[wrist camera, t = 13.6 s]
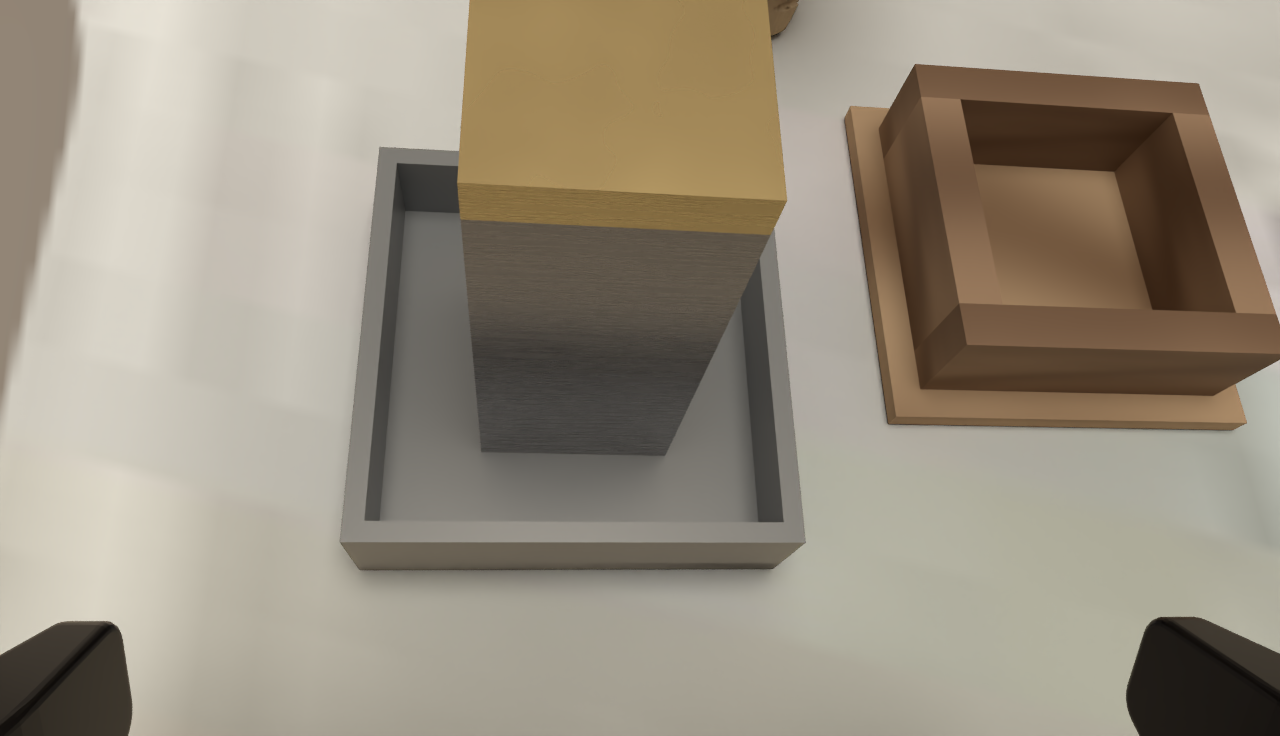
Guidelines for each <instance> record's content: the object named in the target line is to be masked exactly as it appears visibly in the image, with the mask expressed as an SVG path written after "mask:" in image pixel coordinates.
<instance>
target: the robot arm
mask: <svg viewBox="0 0 1280 736" xmlns="http://www.w3.org/2000/svg"><path fill="white" fill-rule="evenodd" d="M1126 701H1127V708H1128V711H1129V715H1130V717H1131V720H1132V722H1133V724H1134V726H1135V728H1136V730H1137V732H1138V734H1139V736H1280V654H1279V653H1277V652H1275V651H1272V650H1270V649H1268V648H1266V647H1264V646H1262V645H1259V644H1257V643H1255V642H1253V641H1251V640H1248V639H1246V638H1244V637H1242V636H1240V635H1238V634H1235V633H1233V632H1231V631H1229V630H1227V629H1224V628H1222V627H1220V626H1218V625H1216V624H1214V623H1211V622H1209V621H1207V620H1204V619H1202V618H1197V617H1159V618H1157V619H1154V620H1152V621H1151V622H1150V623H1149V625H1148V626H1147V627H1146V629H1145V631H1144V634H1143V637H1142V641H1141V644H1140V647H1139V650H1138V653H1137V656H1136V660H1135V663H1134V666H1133V669H1132V672H1131V676H1130V679H1129V682H1128V685H1127V690H1126ZM131 720H132V698H131V691H130V684H129V678H128V671H127V665H126V658H125V651H124V645H123V639H122V635H121V632H120V630H119V628H118V627H117V626H116V625H114V624H113V623H111V622H109V621H66V622H61V623H57V624H55V625H53V626H51V627H50V628H48V629H46V630H44V631H42V632H41V633H39V634H37V635H35V636H33V637H32V638H30V639H28V640H26V641H25V642H23V643H21V644H19V645H17V646H16V647H14V648H12V649H10V650H9V651H7V652H5V653H3V654H1V655H0V736H128V734H129V730H130V726H131Z"/></svg>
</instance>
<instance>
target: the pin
mask: <svg viewBox="0 0 1280 736" xmlns="http://www.w3.org/2000/svg"><path fill="white" fill-rule="evenodd" d="M457 186H458V197H459V209H460V220H461V231H462V242H463V253H464V264H465V276H466V287H467V298H468V309H469V320H470V331H471V343H472V354H473V365H474V376H475V387H476V398H477V410H478V421H479V432H480V443H481V452H498V453H547V454H597V455H647V456H665V455H666V453H667V451H668V449H669V447H670V445H671V443H672V441H673V439H674V436H675V434H676V432H677V430H678V428H679V426H680V424H681V422H682V420H683V418H684V416H685V413H686V411H687V409H688V407H689V405H690V403H691V401H692V399H693V397H694V395H695V392H696V390H697V388H698V386H699V384H700V382H701V380H702V378H703V376H704V374H705V372H706V369H707V367H708V365H709V363H710V361H711V359H712V357H713V355H714V353H715V351H716V349H717V346H718V344H719V342H720V340H721V338H722V336H723V334H724V332H725V330H726V328H727V326H728V323H729V321H730V319H731V317H732V315H733V313H734V311H735V309H736V307H737V305H738V302H739V300H740V298H741V296H742V294H743V292H744V290H745V288H746V286H747V284H748V282H749V279H750V277H751V275H752V273H753V271H754V269H755V267H756V265H757V263H758V261H759V259H760V256H761V254H762V252H763V250H764V248H765V246H766V244H767V242H768V240H769V238H770V235H771V233H772V231H773V229H774V227H775V225H776V223H777V221H778V219H779V217H780V215H781V212H782V210H783V208H784V206H785V204H786V202H787V195H786V185H785V175H784V164H783V154H782V144H781V134H780V124H779V114H778V104H777V94H776V84H775V74H774V64H773V53H772V43H771V33H770V23H769V13H768V3H767V0H470V3H469V18H468V32H467V47H466V62H465V76H464V91H463V105H462V120H461V134H460V149H459V163H458V178H457Z"/></svg>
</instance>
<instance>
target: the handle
mask: <svg viewBox="0 0 1280 736" xmlns="http://www.w3.org/2000/svg"><path fill="white" fill-rule="evenodd" d="M798 1H799V0H767V3H768V13H769V23H770V33H771V35H775V34H777V33H780V32H781V31H783V30H784V29H785V28H786V26H787V25H788V23H789V22H790V20H791V18H792V16H793V14H794V12H795V10H796V8H797V6H798V4H797V2H798Z"/></svg>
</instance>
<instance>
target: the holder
mask: <svg viewBox="0 0 1280 736" xmlns="http://www.w3.org/2000/svg"><path fill="white" fill-rule="evenodd" d="M845 125H846V132H847V139H848V146H849V153H850V160H851V167H852V174H853V181H854V187H855V194H856V201H857V208H858V215H859V222H860V229H861V236H862V243H863V250H864V257H865V264H866V271H867V278H868V285H869V292H870V299H871V306H872V313H873V320H874V327H875V334H876V341H877V348H878V355H879V362H880V369H881V376H882V383H883V390H884V397H885V404H886V411H887V418H888V424H924V425H981V426H1038V427H1095V428H1152V429H1208V430H1234V429H1236V428H1238V427H1240V426H1242V425H1244V424H1246V423H1247V421H1246V418H1245V415H1244V411H1243V408H1242V405H1241V402H1240V398H1239V395H1238V392H1237V388H1236V385H1235V384H1236V383H1238V382H1240V381H1242V380H1243V379H1245V378H1247V377H1249V376H1251V375H1253V374H1254V373H1256V372H1258V371H1260V370H1262V369H1264V368H1265V367H1267V366H1269V365H1271V364H1273V363H1274V362H1276V361H1278V360H1280V324H1279V321H1278V318H1277V315H1276V312H1275V309H1274V306H1273V303H1272V300H1271V297H1270V294H1269V291H1268V288H1267V285H1266V282H1265V279H1264V276H1263V273H1262V270H1261V267H1260V265H1259V262H1258V259H1257V256H1256V253H1255V250H1254V247H1253V244H1252V241H1251V238H1250V235H1249V232H1248V229H1247V226H1246V223H1245V220H1244V217H1243V214H1242V211H1241V208H1240V205H1239V202H1238V199H1237V196H1236V193H1235V190H1234V187H1233V184H1232V181H1231V178H1230V175H1229V172H1228V169H1227V166H1226V163H1225V160H1224V157H1223V154H1222V151H1221V148H1220V145H1219V142H1218V139H1217V137H1216V134H1215V131H1214V128H1213V125H1212V122H1211V119H1210V116H1209V113H1208V110H1207V107H1206V104H1205V101H1204V98H1203V95H1202V92H1201V89H1200V86H1199V84H1197V83H1183V82H1168V81H1154V80H1139V79H1125V78H1110V77H1095V76H1081V75H1066V74H1052V73H1037V72H1023V71H1008V70H993V69H979V68H964V67H950V66H935V65H921V64H915V65H914V67H913V69H912V70H911V72H910V74H909V76H908V77H907V79H906V81H905V83H904V84H903V86H902V88H901V90H900V92H899V93H898V95H897V97H896V99H895V100H894V102H893V104H892V106H891V107H890V109H889V108H873V107H857V106H850V108H849V110H848V112H847V114H846V116H845Z"/></svg>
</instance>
